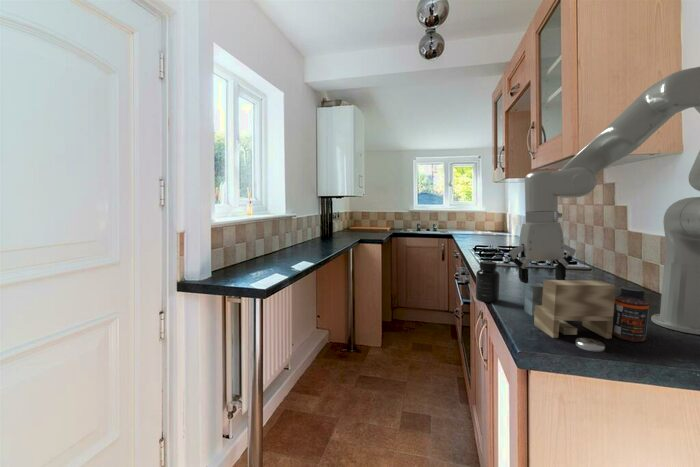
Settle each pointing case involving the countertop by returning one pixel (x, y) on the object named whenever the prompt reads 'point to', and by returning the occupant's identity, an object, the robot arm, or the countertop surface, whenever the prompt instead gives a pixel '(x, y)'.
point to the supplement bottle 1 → (487, 282)
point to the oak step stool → (576, 306)
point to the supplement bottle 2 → (630, 315)
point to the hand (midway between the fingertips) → (542, 281)
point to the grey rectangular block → (535, 298)
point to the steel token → (590, 344)
